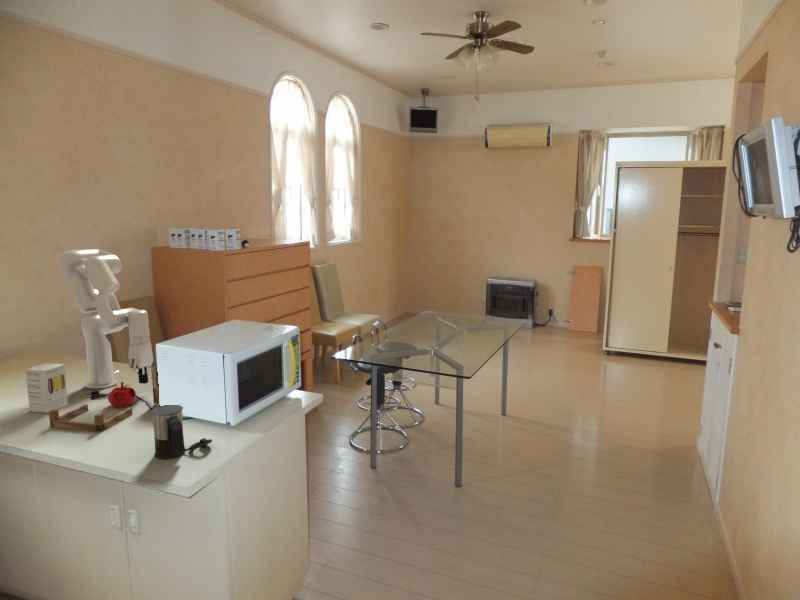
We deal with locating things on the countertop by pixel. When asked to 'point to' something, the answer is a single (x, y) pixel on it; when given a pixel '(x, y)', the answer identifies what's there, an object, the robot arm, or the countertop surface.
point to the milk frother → (170, 432)
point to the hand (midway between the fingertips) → (143, 382)
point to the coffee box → (155, 384)
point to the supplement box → (46, 387)
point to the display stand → (98, 426)
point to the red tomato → (122, 396)
